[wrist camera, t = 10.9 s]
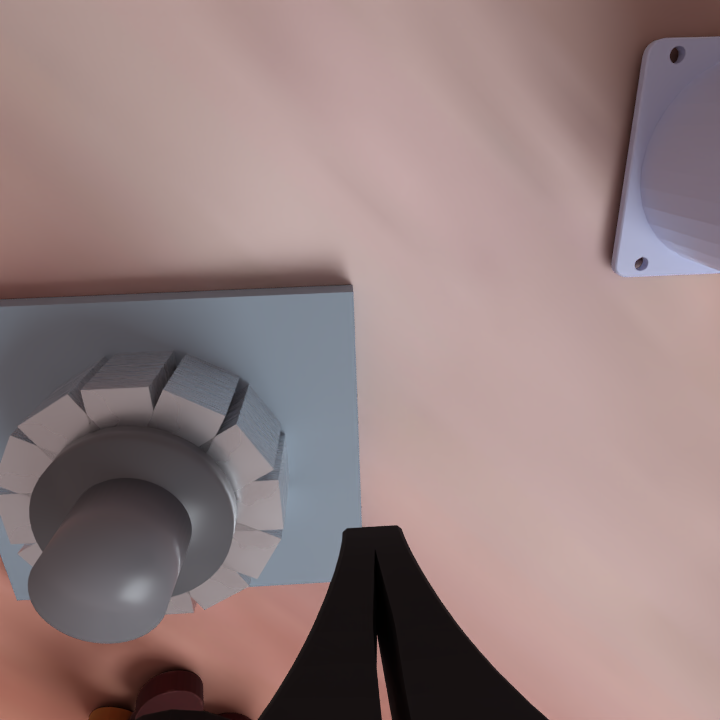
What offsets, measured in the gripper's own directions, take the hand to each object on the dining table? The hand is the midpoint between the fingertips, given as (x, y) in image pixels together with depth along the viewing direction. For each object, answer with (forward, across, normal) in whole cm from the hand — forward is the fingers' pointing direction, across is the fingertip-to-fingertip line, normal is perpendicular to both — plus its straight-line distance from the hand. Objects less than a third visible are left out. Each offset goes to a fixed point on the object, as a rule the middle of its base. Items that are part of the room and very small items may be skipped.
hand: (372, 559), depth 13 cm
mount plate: (+10, +8, +3) cm, 13 cm away
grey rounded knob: (+9, +8, +3) cm, 13 cm away
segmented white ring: (+10, +8, +3) cm, 13 cm away
